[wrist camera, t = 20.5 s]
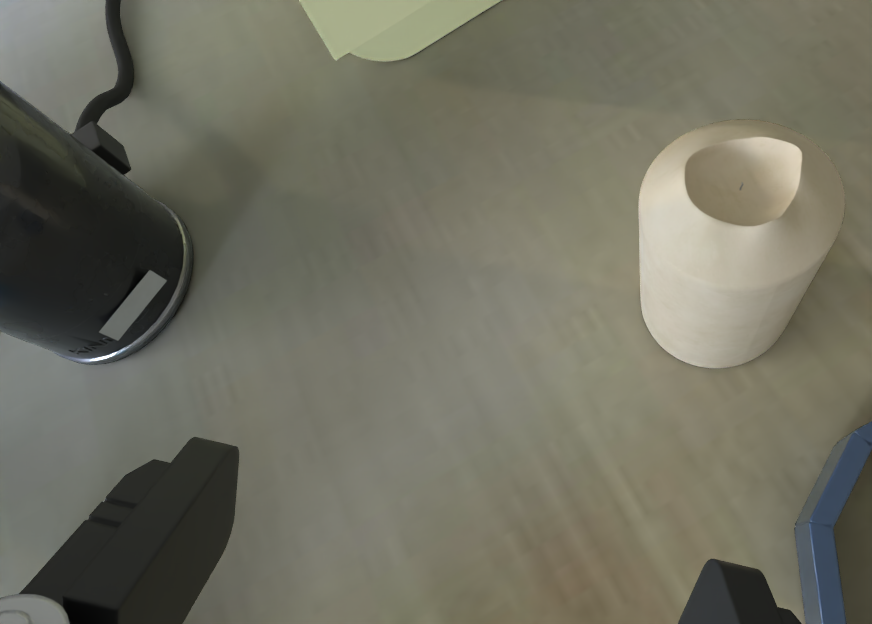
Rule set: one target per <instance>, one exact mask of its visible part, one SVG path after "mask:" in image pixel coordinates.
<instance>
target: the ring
mask: <svg viewBox="0 0 872 624" xmlns="http://www.w3.org/2000/svg"><path fill="white" fill-rule="evenodd" d="M871 451H872V421H871V422H869V423H867V424H865V425H864V426H862V427H860V428H858V429H856V430H855V431H853V432H852V433H850V434H849V435H847V436H846V437H845V438H843V439H842V440H840V441H839V442H837V444H836V445H835V446H834V447H833V449H832V451H831V453H830V455H829V457H828V459H827V461H826V463H825V465H824V467H823V469H822V471H821V473H820V475H819V477H818V479H817V481H816V483H815V485H814V487H813V489H812V491H811V493H810V495H809V497H808V499H807V501H806V503H805V505H804V507H803V509H802V511H801V513H800V515H799V517H798V519H797V521H796V523H795V526H796V527H795V528H794V530H795V538H796V546H797V555H798V563H799V572H800V580H801V588H802V597H803V605H804V613H805V622H806V624H847V621H846V614H845V607H844V600H843V592H842V585H841V578H840V571H839V564H838V556H837V549H836V542H835V535H834V526H835V524H836V522H837V520H838V518H839V516H840V514H841V512H842V510H843V508H844V506H845V504H846V502H847V500H848V498H849V496H850V494H851V492H852V490H853V488H854V486H855V484H856V482H857V479H858V477H859V475H860V473H861V471H862V469H863V467H864V465H865V463H866V461H867V459H868V457H869V455H870V453H871Z"/></svg>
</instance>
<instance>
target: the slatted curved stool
mask: <svg viewBox="0 0 872 624" xmlns="http://www.w3.org/2000/svg"><path fill="white" fill-rule="evenodd" d="M500 1H501V0H299V2H300V4H301V5H302V7H303V9H304V10H305V12H306V14H307V15H308V17H309V18H310V20H311V22H312V23H313V25H314V27H315V28H316V30H317V32H318V33H319V35H320V37H321V38H322V40H323V42H324V43H325V45H326V47H327V48H328V50H329V51H330V53H331V55H332V56H333V58H334V60H335V61H336V60H338V59H339V58H341V57H343V56H344V55H346V54H347V53H350V54H353V55H355V56H358V57H360V58H364V59H369V60H373V61H386V62H390V61H396V60H401V59H405V58H408V57H410V56H412V55H414V54H416V53H418V52H419V51H421V50H422V49H424V48H426V47H427V46H429V45H430V44H432V43H434V42H435V41H437V40H438V39H440V38H442V37H443V36H445V35H447V34H448V33H450V32H451V31H453V30H455V29H456V28H458V27H459V26H461V25H463V24H464V23H466V22H467V21H469V20H471V19H472V18H474V17H475V16H477V15H479V14H480V13H482V12H483V11H485V10H487V9H488V8H490V7H492V6H493V5H495V4H496V3H498V2H500Z"/></svg>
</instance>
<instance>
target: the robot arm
mask: <svg viewBox="0 0 872 624" xmlns="http://www.w3.org/2000/svg"><path fill="white" fill-rule="evenodd" d="M120 2H121V0H106V6H105V8H106V24H107V30H108V34H109V38H110V41H111V44H112V47H113V50H114V53H115V57H116V60H117V65H118V79H117V82H116V85H115V87H114V88H113V89H111V90H109V91H106V92H104V93H102V94H100V95H98V96H96V97H95V98H94V99H93V100H91V101H90V102H89V104H88V105H87V106H86V108H85V109H84V111H83V112H82V114H81V116H80V118H79V120H78V123H77V126H76V129H75V132H74V133H73V134H71V135H70V134H69V133H68V132H67V131H65V130H64V129H63V128H61V127H60V126H59V125H57V124H56V123H55V122H53V121H52V120H51V119H50V118H48V117H47V116H46V115H44V114H43V113H42V112H40V111H39V110H38V109H36V108H35V107H34V106H33V105H31V104H30V103H29V102H27V101H26V100H25V99H23V98H22V97H21V96H19V95H18V94H17V93H16V92H14V91H13V90H12V89H10V88H9V87H7V86H6V85H5V84H3V83H2V82H1V81H0V332H3V333H6V334H8V335H11V336H13V337H16V338H18V339H21V340H24V341H26V342H29V343H32V344H34V345H37V346H40V347H42V348H45V349H48V350H50V351H52V352H54V353H55V354H57V355H59V356H61V357H63V358H66V359H69V360H71V361H74V362H77V363H81V364H89V365H98V364H106V363H110V362H114V361H117V360H120V359H122V358H125V357H127V356H129V355H131V354H133V353H134V352H136V351H138V350H139V349H141V348H142V347H144V346H145V345H146V344H148V343H149V342H150V341H151V340H153V339H154V338H155V337H156V336H157V335H158V334H159V333H160V332H161V331H162V330H163V329H164V327H165V326H166V325H167V324H168V322H169V321H170V320H171V318H172V317H173V316H174V314H175V313H176V311H177V309H178V308H179V306H180V304H181V302H182V300H183V298H184V296H185V293H186V290H187V288H188V285H189V281H190V277H191V272H192V265H193V250H192V243H191V239H190V235H189V232H188V230H187V228H186V226H185V224H184V223H183V221H182V220H181V219H180V217H179V216H178V215H177V214H176V213H175V212H174V211H172V210H171V209H170V208H168V207H167V206H166V205H164V204H163V203H162V202H160V201H158V200H156V199H153V198H152V197H151V196H149V195H148V194H147V193H145V192H144V191H143V190H142V189H141V188H140V187H138V186H137V185H136V184H135V183H133V182H132V181H131V180H129V179H128V178H127V177H125V176H124V174H126V173H127V172H129V171H130V170H131V167H130V164H129V161H128V158H127V155H126V152H125V149H124V146H123V145H122V144H120V143H119V142H118V141H117V140H116V139H114V138H113V137H112V136H111V135H109V134H108V133H107V132H106V131H105V130H103V129H102V128H101V127H100V126H98V125H97V122H98V121H99V119H100V117H101V116H102V114H103V113H104V112H105V111H106V110H107V109H109V108H111V107H113V106H115V105H117V104H119V103H121V102H122V101H124V100H125V99H126V98H127V97H128V96H129V94H130V92H131V89H132V86H133V64H132V59H131V55H130V52H129V49H128V46H127V43H126V40H125V37H124V33H123V30H122V25H121V19H120ZM238 465H239V450H238V447H236V446H232V445H228V444H224V443H219V442H215V441H211V440H207V439H202V438H198V437H193V438H192V439H190V440H189V441H188V442H187V444H186V445H185V446H184V447H183V449H182V450H181V451H180V452H179V453H178V455H177V456H176V457H175V458H174V460H173V461H172V462H171V463H168V462H164V461H159V460H155V459H154V460H152V461H150V462H148V463H146V464H145V465H143V466H141V467H139V468H137V469H136V470H134V471H132V472H130V473H128V474H127V475H125V476H124V477H123V478H122V479H121V481H120V482H119V483H118V484H117V485H116V486H115V487H114V488H113V490H112V491H111V492H110V493H109V494H108V495H107V496H106V499H105V501H104V502H101V503H100V504H99V505H98V506H97V507H96V509H95V510H94V511H93V512H92V513H91V514H90V515H89V519H88V520H85V521H84V522H83V523H82V524H81V525H80V527H79V528H78V529H77V530H76V531H75V532H74V533H73V534H72V536H71V537H70V538H69V539H68V540H67V541H66V542H65V543H64V544H63V546H62V547H61V548H60V549H59V550H58V551H57V552H56V553H55V555H54V556H53V557H52V558H51V559H50V560H49V561H48V562H47V564H46V565H45V566H44V567H43V568H42V569H41V570H40V571H39V572H38V574H37V575H36V576H35V577H34V578H33V579H32V580H31V581H30V583H29V584H28V585H27V586H26V587H25V588H24V589H23V590H22V591H21V592H20V593H19V594H17V595H11V596H5V597H1V598H0V624H182V623H183V622H184V620H185V618H186V617H187V615H188V613H189V611H190V610H191V608H192V606H193V604H194V603H195V601H196V599H197V597H198V596H199V594H200V592H201V591H202V589H203V587H204V585H205V584H206V582H207V580H208V578H209V577H210V575H211V573H212V572H213V570H214V568H215V566H216V565H217V563H218V561H219V559H220V558H221V556H222V554H223V552H224V550H225V548H226V546H227V543H228V540H229V537H230V534H231V531H232V527H233V522H234V516H235V503H236V491H237V478H238ZM678 624H801V622H800V621H799V620H798V619H797V618H796V616H795V615H794V614H793V613H792V612H791V611H790V610H788V609H783V608H779V607H777V605H776V603H775V600H774V598H773V596H772V593H771V591H770V588H769V586H768V584H767V581H766V579H765V577H764V575H763V573H762V572H761V571H760V570H758V569H755V568H751V567H746V566H742V565H738V564H734V563H729V562H725V561H721V560H716V559H710V560H708V561H707V562H706V564H705V565H704V567H703V569H702V571H701V573H700V576H699V578H698V580H697V582H696V584H695V587H694V589H693V591H692V593H691V596H690V598H689V600H688V602H687V604H686V607H685V609H684V611H683V613H682V615H681V618H680V620H679V622H678Z"/></svg>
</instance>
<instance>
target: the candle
mask: <svg viewBox="0 0 872 624" xmlns="http://www.w3.org/2000/svg"><path fill="white" fill-rule="evenodd" d="M844 214H845V193H844V187H843V184H842V180H841V177H840V175H839V173H838V171H837V169H836V167H835V165H834V164H833V163H832V161H831V160H830V158H829V157H828V156H827V155H826V154H825V152H824V151H823V150H822V149H821V148H820V147H819V146H817V145H816V144H815V143H814V142H812V141H811V140H810V139H808V138H807V137H805V136H803V135H802V134H800V133H798V132H796V131H794V130H792V129H790V128H787V127H784V126H781V125H778V124H775V123H770V122H766V121H759V120H739V119H738V120H727V121H721V122H716V123H712V124H708V125H705V126H702V127H699V128H697V129H694V130H692V131H690V132H688V133H686V134H684V135H683V136H681V137H679V138H678V139H676V140H675V141H673V142H672V143H671V144H669V145H668V146H667V147H666V148H665V149H664V150H663V151H662V152H661V153H660V154H659V155H658V156H657V157H656V159H655V160H654V161H653V163H652V164H651V166H650V167H649V169H648V170H647V173H646V175H645V177H644V179H643V182H642V186H641V189H640V195H639V247H640V294H641V308H642V314H643V317H644V321H645V323H646V325H647V327H648V330H649V331H650V333H651V334H652V336H653V337H654V339H655V340H656V341H657V342H658V344H659V345H660V346H661V347H662V348H663V349H665V350H666V351H667V352H668V353H670V354H671V355H673V356H674V357H676V358H678V359H680V360H682V361H684V362H686V363H689V364H692V365H695V366H699V367H705V368H728V367H733V366H738V365H741V364H744V363H746V362H749V361H751V360H753V359H755V358H757V357H758V356H760V355H761V354H763V353H764V352H766V351H767V350H768V349H769V348H770V347H771V346H772V345H773V344H774V343H775V342H776V341H777V340H778V338H779V337H780V336H781V334H782V333H783V331H784V329H785V328H786V326H787V324H788V322H789V321H790V319H791V317H792V315H793V314H794V312H795V310H796V308H797V307H798V305H799V303H800V301H801V299H802V298H803V296H804V294H805V292H806V291H807V289H808V287H809V285H810V284H811V282H812V280H813V278H814V276H815V275H816V273H817V271H818V269H819V268H820V266H821V264H822V262H823V260H824V259H825V257H826V255H827V253H828V252H829V250H830V248H831V246H832V245H833V243H834V241H835V239H836V237H837V236H838V234H839V231H840V228H841V226H842V223H843V219H844Z"/></svg>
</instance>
